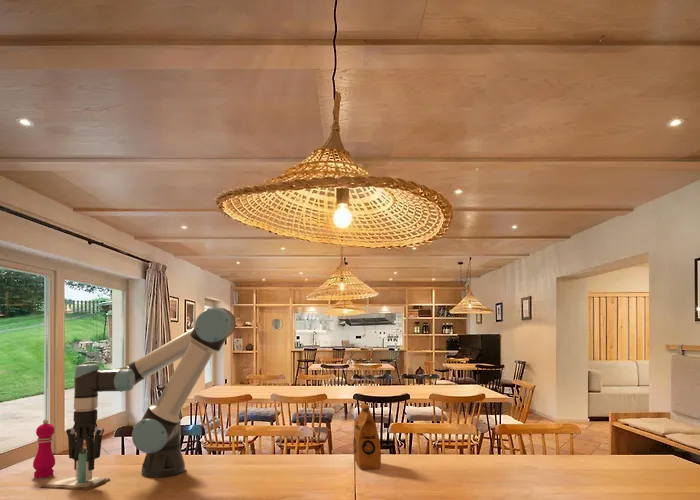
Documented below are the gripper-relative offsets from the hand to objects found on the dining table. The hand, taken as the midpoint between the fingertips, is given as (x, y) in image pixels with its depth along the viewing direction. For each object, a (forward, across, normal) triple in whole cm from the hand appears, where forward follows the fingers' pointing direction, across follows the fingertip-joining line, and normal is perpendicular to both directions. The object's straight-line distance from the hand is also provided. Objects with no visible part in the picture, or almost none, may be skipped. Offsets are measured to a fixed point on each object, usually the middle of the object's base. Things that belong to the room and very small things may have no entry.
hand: (83, 479), depth 202 cm
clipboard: (+2, +3, 0) cm, 4 cm away
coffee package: (+2, -91, -38) cm, 99 cm away
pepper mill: (+2, +22, -8) cm, 24 cm away
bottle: (+1, 0, +1) cm, 1 cm away
